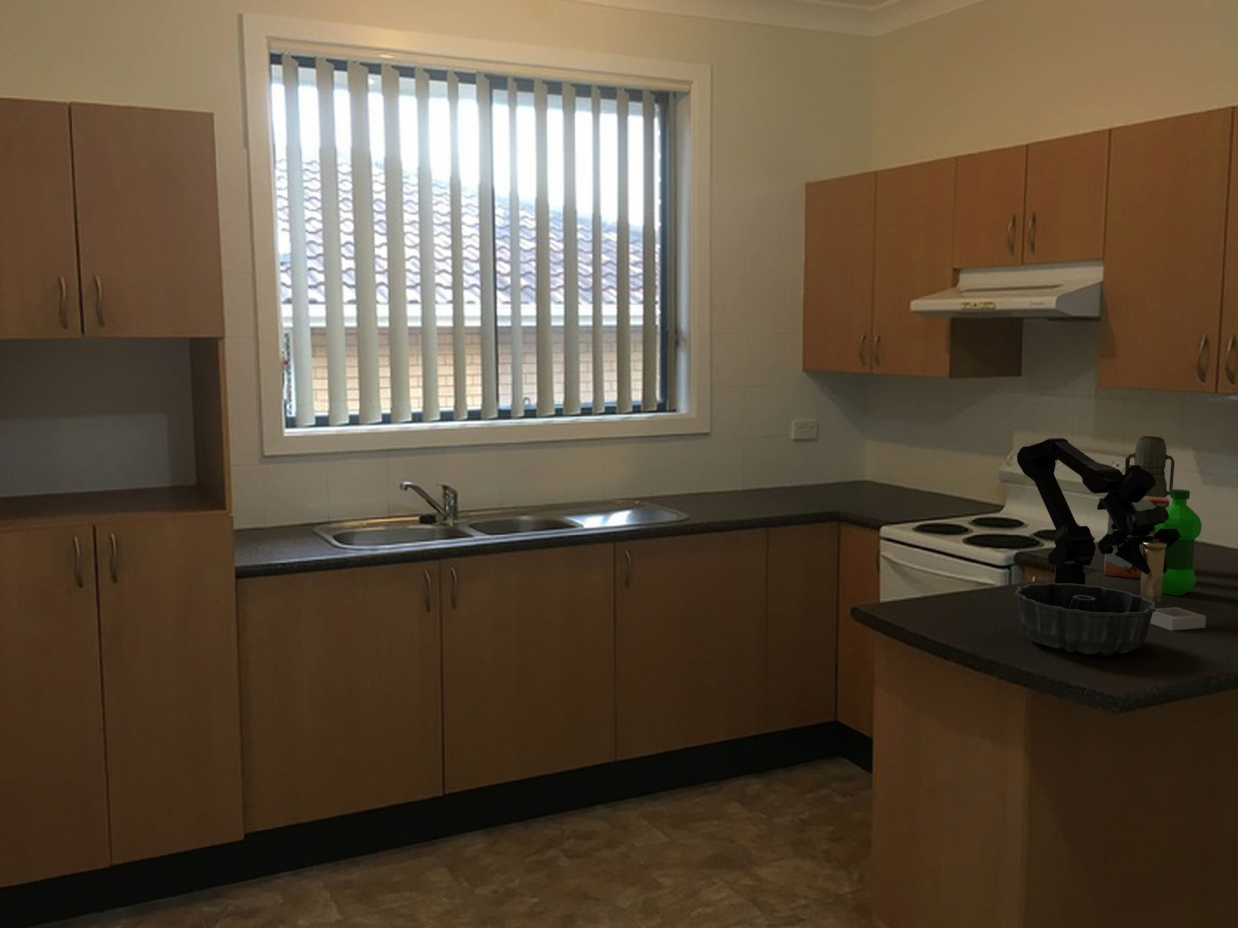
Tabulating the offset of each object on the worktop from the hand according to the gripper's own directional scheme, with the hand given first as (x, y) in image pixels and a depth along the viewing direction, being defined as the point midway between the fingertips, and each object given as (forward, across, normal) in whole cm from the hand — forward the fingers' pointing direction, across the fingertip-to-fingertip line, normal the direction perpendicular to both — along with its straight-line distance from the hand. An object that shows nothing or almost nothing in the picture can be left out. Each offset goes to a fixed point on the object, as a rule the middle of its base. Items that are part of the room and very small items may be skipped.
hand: (1156, 572), depth 261 cm
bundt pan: (+17, -31, -2) cm, 36 cm away
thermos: (-24, +39, +40) cm, 60 cm away
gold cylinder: (+4, 0, +6) cm, 7 cm away
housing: (+11, 0, +3) cm, 12 cm away
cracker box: (-18, +28, +33) cm, 47 cm away
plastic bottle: (-6, +24, +21) cm, 32 cm away
